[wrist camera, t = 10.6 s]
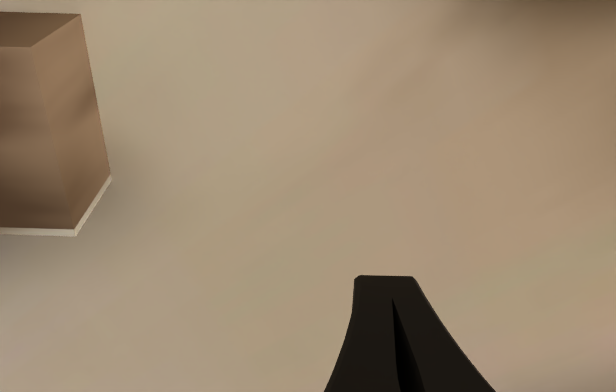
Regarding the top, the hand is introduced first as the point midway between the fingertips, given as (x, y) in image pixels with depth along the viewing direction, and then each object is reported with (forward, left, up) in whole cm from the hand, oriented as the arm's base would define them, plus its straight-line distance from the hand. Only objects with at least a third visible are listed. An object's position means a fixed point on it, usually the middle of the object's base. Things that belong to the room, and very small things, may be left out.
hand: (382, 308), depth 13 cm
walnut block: (-3, +13, -8) cm, 15 cm away
